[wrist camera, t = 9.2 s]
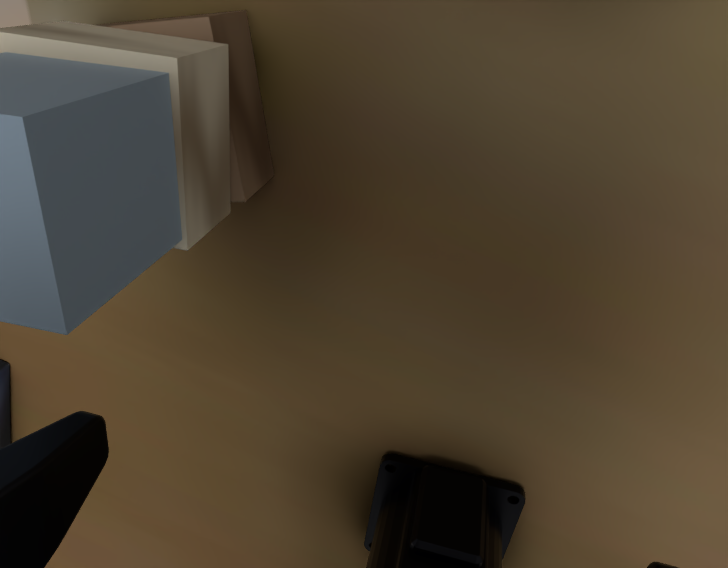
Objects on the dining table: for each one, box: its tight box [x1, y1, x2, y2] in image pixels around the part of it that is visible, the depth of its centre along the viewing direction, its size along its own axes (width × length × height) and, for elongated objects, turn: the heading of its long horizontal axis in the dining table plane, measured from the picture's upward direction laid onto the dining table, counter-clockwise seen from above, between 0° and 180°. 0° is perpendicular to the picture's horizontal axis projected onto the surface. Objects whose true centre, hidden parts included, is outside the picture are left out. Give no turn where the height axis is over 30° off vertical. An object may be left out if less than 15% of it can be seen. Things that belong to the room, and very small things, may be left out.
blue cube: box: [0, 52, 182, 335], centre depth 14 cm, size 4×4×5 cm
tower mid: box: [0, 21, 231, 251], centre depth 17 cm, size 5×5×3 cm
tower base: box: [97, 10, 274, 202], centre depth 20 cm, size 6×6×3 cm
